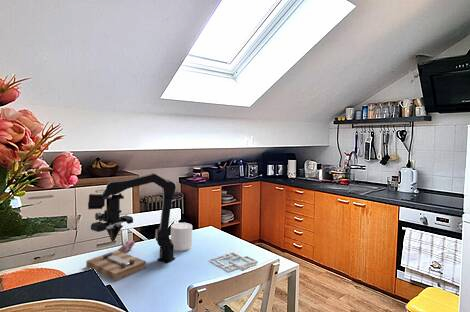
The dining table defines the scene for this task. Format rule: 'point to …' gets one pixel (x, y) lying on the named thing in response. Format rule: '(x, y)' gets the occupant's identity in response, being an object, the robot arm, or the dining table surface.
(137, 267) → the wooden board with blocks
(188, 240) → the cup
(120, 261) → the strap
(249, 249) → the dining table surface
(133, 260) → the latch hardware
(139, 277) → the dining table surface
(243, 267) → the floor plan model
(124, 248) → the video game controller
